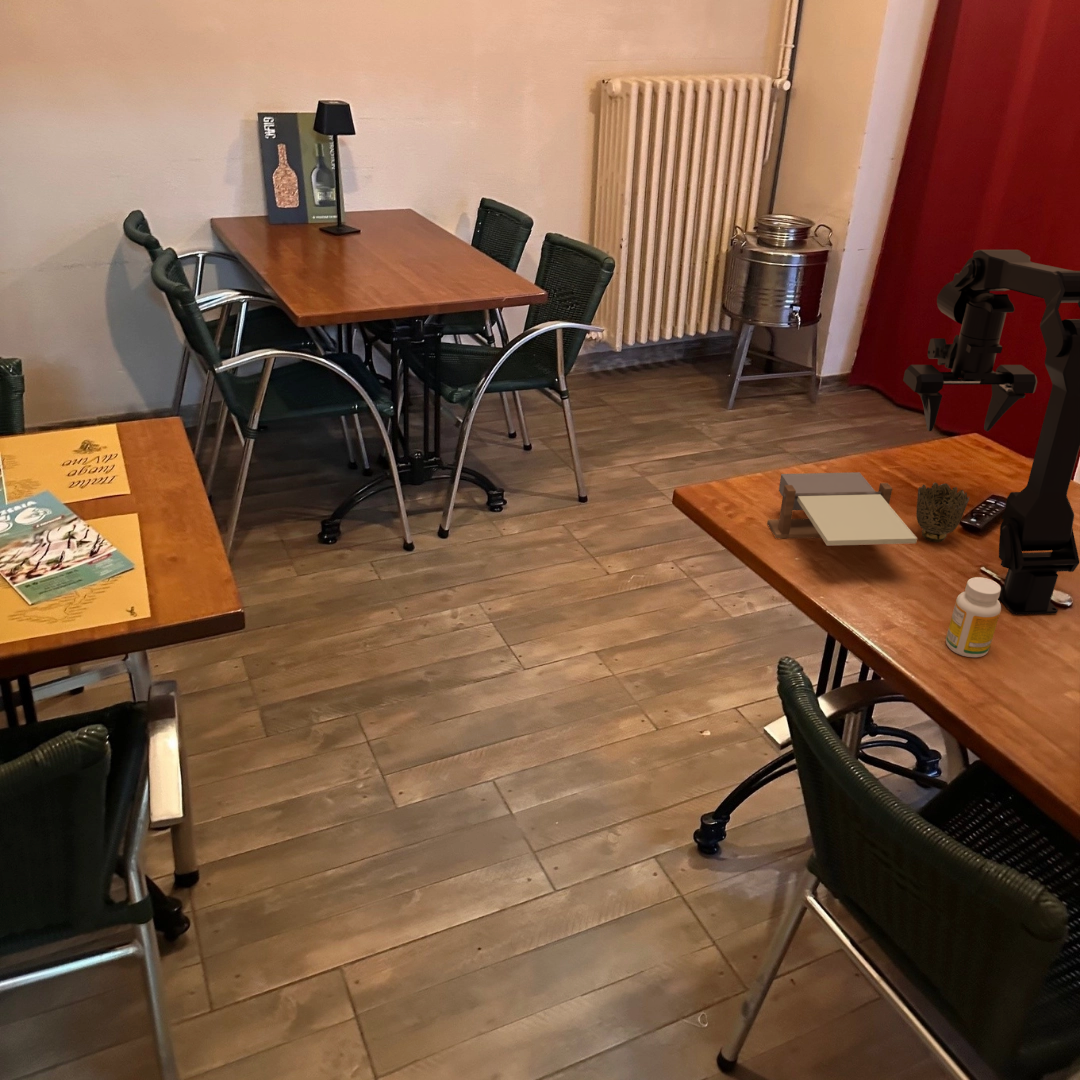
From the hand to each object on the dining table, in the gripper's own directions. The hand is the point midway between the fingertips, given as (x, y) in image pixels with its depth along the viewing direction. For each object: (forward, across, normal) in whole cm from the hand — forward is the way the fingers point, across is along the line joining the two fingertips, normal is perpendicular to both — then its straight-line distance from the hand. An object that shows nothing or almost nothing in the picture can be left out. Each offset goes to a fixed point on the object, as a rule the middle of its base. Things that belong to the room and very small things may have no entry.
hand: (957, 430), depth 156 cm
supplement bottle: (+15, +11, +38) cm, 43 cm away
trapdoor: (+11, +20, +11) cm, 26 cm away
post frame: (+14, +21, +6) cm, 26 cm away
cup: (+15, +4, +9) cm, 18 cm away
